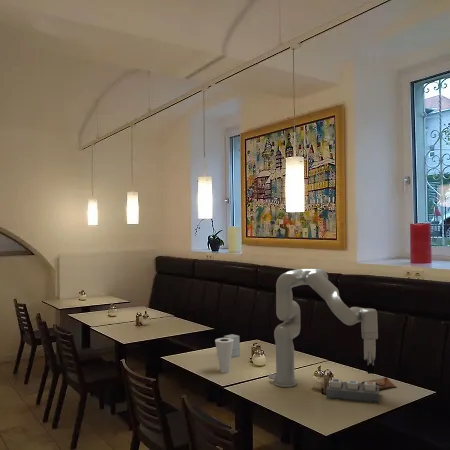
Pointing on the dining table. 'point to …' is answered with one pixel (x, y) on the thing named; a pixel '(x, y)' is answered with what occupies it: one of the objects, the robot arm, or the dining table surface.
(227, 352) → the cup
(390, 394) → the dining table surface
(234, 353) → the supplement box
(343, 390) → the block
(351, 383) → the key mid
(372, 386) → the key right
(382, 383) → the sunglasses case
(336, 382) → the key left
